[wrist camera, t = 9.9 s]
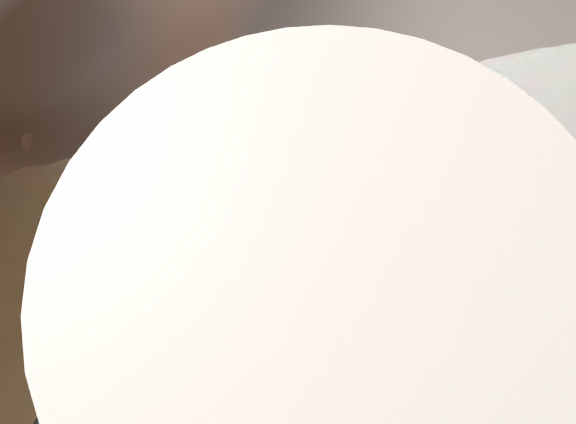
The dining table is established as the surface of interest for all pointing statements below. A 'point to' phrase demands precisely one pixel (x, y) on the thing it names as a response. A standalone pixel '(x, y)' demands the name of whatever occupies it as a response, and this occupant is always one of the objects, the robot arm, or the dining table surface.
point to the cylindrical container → (310, 245)
